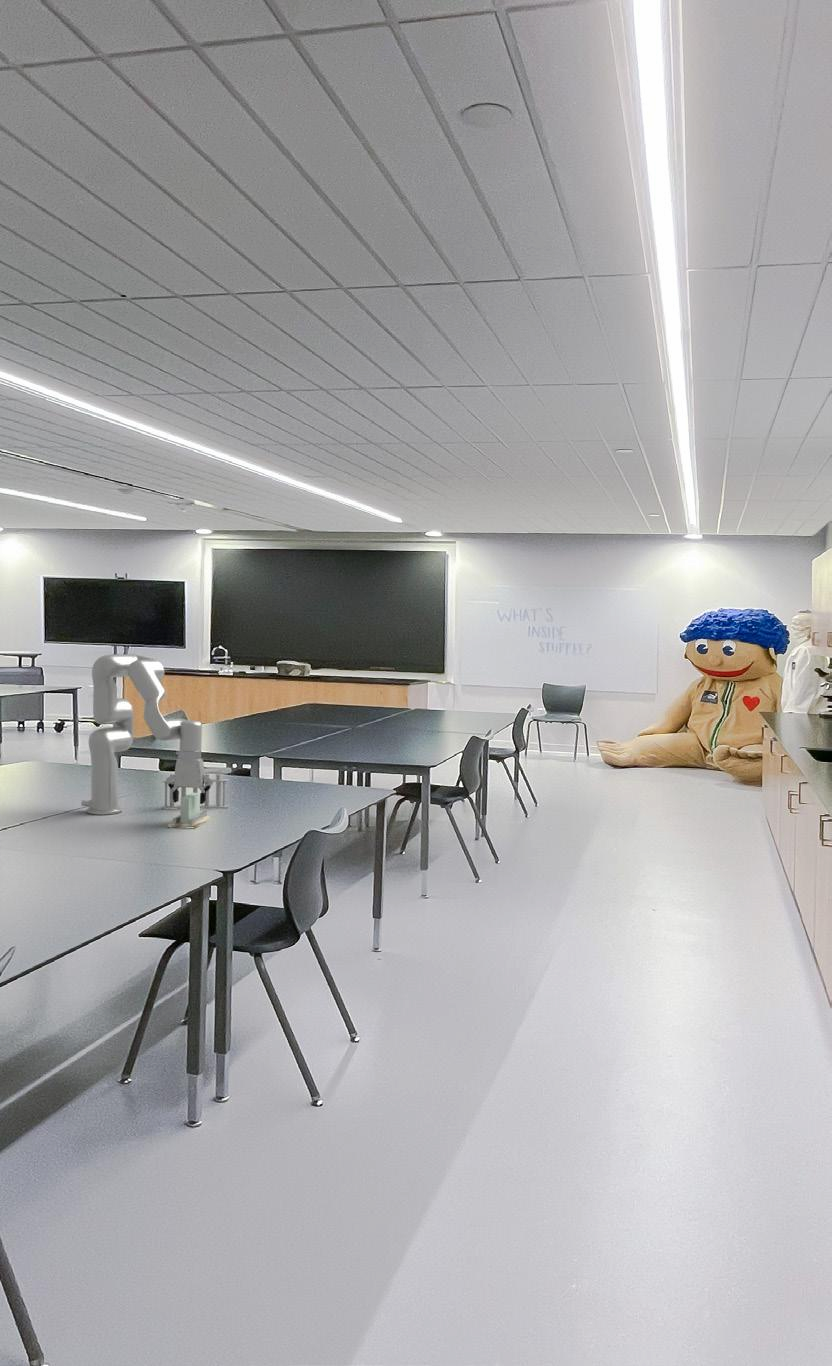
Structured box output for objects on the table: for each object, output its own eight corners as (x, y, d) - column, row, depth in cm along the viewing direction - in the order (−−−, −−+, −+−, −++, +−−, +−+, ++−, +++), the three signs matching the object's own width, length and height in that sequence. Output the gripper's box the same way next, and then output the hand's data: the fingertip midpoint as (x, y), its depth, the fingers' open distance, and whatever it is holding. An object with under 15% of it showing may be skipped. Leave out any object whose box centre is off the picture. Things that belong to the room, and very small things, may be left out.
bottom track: (167, 827, 347) (167, 819, 347) (185, 817, 365) (185, 809, 365) (195, 828, 346) (195, 820, 346) (211, 819, 364) (211, 810, 364)
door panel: (180, 823, 349) (180, 798, 349) (191, 817, 361) (192, 792, 361) (188, 823, 349) (188, 798, 349) (199, 817, 361) (200, 792, 361)
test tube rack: (227, 806, 390) (228, 773, 390) (227, 808, 386) (228, 775, 385) (162, 807, 386) (162, 773, 385) (161, 809, 381) (161, 775, 381)
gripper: (163, 755, 351) (162, 803, 352) (210, 757, 349) (209, 805, 350) (170, 752, 359) (169, 799, 360) (217, 755, 357) (215, 802, 358)
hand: (189, 802), depth 355 cm, fingers open, 9 cm apart
